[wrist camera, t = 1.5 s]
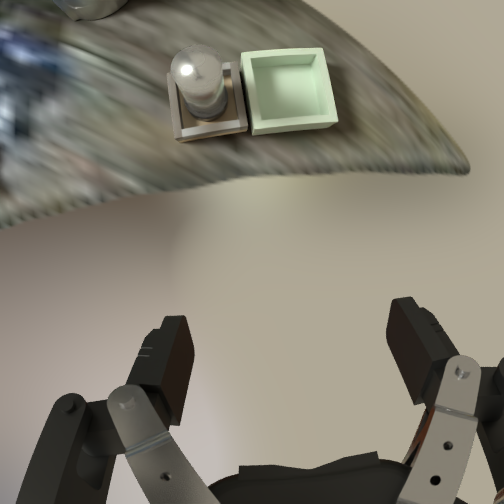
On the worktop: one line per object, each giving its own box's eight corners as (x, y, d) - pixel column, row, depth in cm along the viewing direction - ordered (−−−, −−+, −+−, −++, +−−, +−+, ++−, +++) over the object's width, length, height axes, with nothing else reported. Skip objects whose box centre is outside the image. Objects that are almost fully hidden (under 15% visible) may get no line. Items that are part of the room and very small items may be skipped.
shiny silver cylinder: (189, 125, 30) (169, 97, 20) (184, 88, 29) (164, 47, 19) (230, 118, 30) (230, 86, 20) (225, 81, 30) (222, 37, 19)
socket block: (180, 142, 32) (174, 138, 29) (172, 82, 30) (166, 73, 27) (246, 131, 32) (248, 125, 29) (236, 71, 30) (237, 61, 27)
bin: (252, 135, 32) (254, 129, 28) (240, 66, 30) (241, 52, 26) (326, 127, 32) (338, 121, 29) (313, 60, 31) (322, 47, 27)
